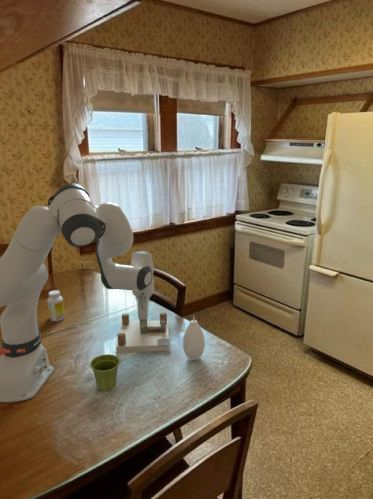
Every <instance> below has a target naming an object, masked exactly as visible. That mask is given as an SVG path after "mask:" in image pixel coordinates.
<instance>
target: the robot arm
mask: <svg viewBox="0 0 373 499" xmlns="http://www.w3.org/2000/svg"><path fill="white" fill-rule="evenodd" d="M47 200H48V201H47V206H46V205H45V206H44V205H35V206H33V207H31V208H30V209H28V211H27V212H26V213H25V215H24V216H23V217H22V218H21V220H20V221H19V224H18V225H17V227H16V229H15V231H14V233H13V236H12V238H11V240H10V243H9V245H8V246H7V248H6V250H5V252H4V253H3V254H2V255H1V256H0V308H2V307H3V308H4V307H5V308H4V310H3V311H2V313H1V315H0V329H1V336H2V339H1V343H0V344H1V345H0V403H14V402H16V403H17V402H20V401H21V402H22V401H25V400H29V399H31V398H34V397H35V396H36V395H37V394H38V392H39V391H40V389H41V388H42V387H43V386H44V384H45V383H46V382H47V380H48V379H49V378H50V377H51V375H52V374H53V373H54V371H55V367H54V365H53V366H52V365H51V364H50V360H49V356H48V352H47V348H45V347H44V345H42V335H41V333H40V332H41V331H40V330H39V327H38V317H37V313H38V312H37V311H38V310H37V309H38V304H39V299H40V295H41V293H42V289H43V288H44V286H45V284H46V283H47V281H48V279H49V272H48V268H47V267H46V265H45V264H44V263H45V261H46V260H47V257H48V256H49V255H48V254H49V253H50V251H51V249H52V248H53V244H54V243H55V242H56V239H57V238H58V236H60V234H62V236H63V238H64V240H65V241H66V242H67V243H68V244H69V245H70V246H72V247H77V248H78V247H80V248H81V247H86V246H89V245H91V244H94V243H95V242H96V243H95V249H94V250H95V256H96V260H97V264H98V268H99V271H100V281H101V284H102V285H103V286H104V288H105V289H107V290H122V291H132V295H133V296H135V298H136V299H137V319H138V321H140V320H146V319H147V320H148V316H149V302H150V299H151V297H152V295H153V294H154V293H155V282H154V277H153V275H154V263H153V262H154V261H153V256H152V253H151V252H149V251H146V250H145V251H144V250H136V251H133V252H132V253H131V263H130V264H120V263H116V262H114V261H113V258H116V257H121V256H123V255H125V254H126V253H128V251H130V249H131V247H132V246H133V243H134V232H133V230H132V227H131V225H130V222H129V220H128V218H127V217H126V214H125V213H124V211H123V210H122V208H121V207H120V206H119V205H118V204H116V203H114V202H110V201H109V202H108V201H107V202H103V203H101V204H99V205H94V203H93V202H92V199H91V197H90V194H89V193H88V191H87V190H86V189H85V188H84V187H83V186H82V185H81V184H78V183H76V182H75V183H72V182H71V183H66V184H63V185H62V186H60V187H59V188H58V189H56V191H55V192H54V194H53V195H51V196H50V197H49V198H48V199H47Z"/></svg>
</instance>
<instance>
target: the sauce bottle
mask: <svg viewBox="0 0 373 499" xmlns="http://www.w3.org/2000/svg"><path fill="white" fill-rule="evenodd" d="M182 339H183V340H182V347H183V352H184V354H185V355H186V357H187V358H188V359H189V360H191V361H196V360H198V359H200V358H201V357H202V355H203V353H204V351H205V346H206V345H205V344H206V343H205V335H204V333H203V330H202V327H201V326H200V324H199V323H198V320H196V319H195V315H193V318H192V319H191V320H190V322H189V324H188V325H187V327H186V329H185V331H184V334H183V338H182Z"/></svg>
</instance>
